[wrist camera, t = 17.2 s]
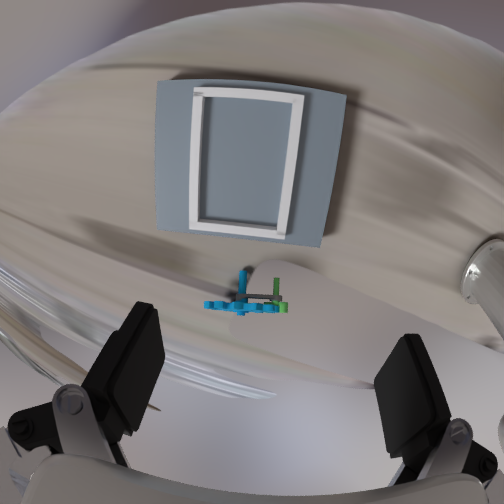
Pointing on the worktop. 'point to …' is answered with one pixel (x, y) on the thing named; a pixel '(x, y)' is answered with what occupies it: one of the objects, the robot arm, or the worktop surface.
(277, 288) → the blue cogwheel with peg
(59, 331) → the worktop surface
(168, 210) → the plate
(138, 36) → the worktop surface
